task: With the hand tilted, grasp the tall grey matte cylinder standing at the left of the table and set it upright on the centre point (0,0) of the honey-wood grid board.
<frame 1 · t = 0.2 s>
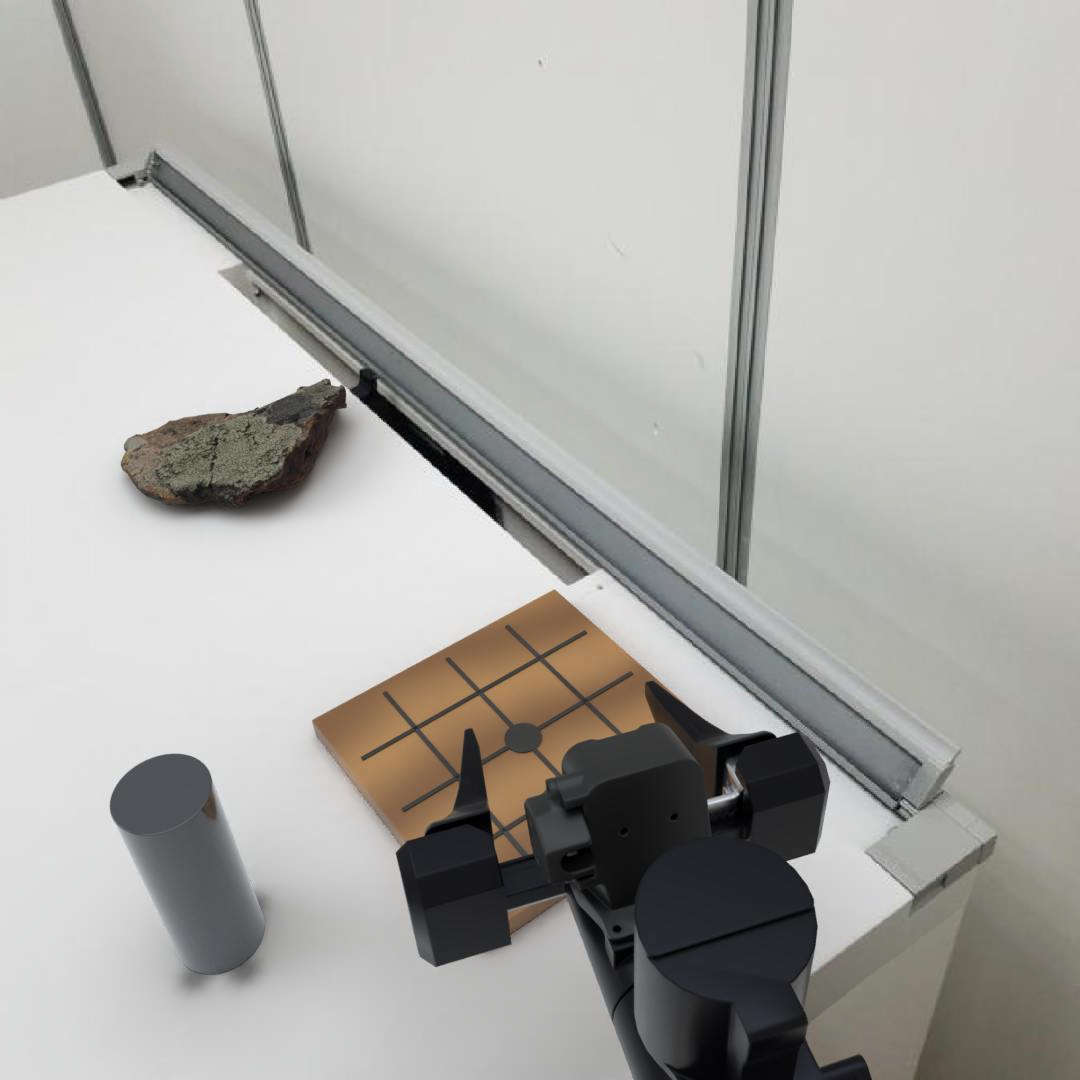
hand: (559, 709, 56), 16 cm above the table, tool horizontal, fingers open, 9 cm apart
board: (524, 753, 74), on the table
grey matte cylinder: (220, 933, 66), on the table
rock: (239, 464, 101), on the table
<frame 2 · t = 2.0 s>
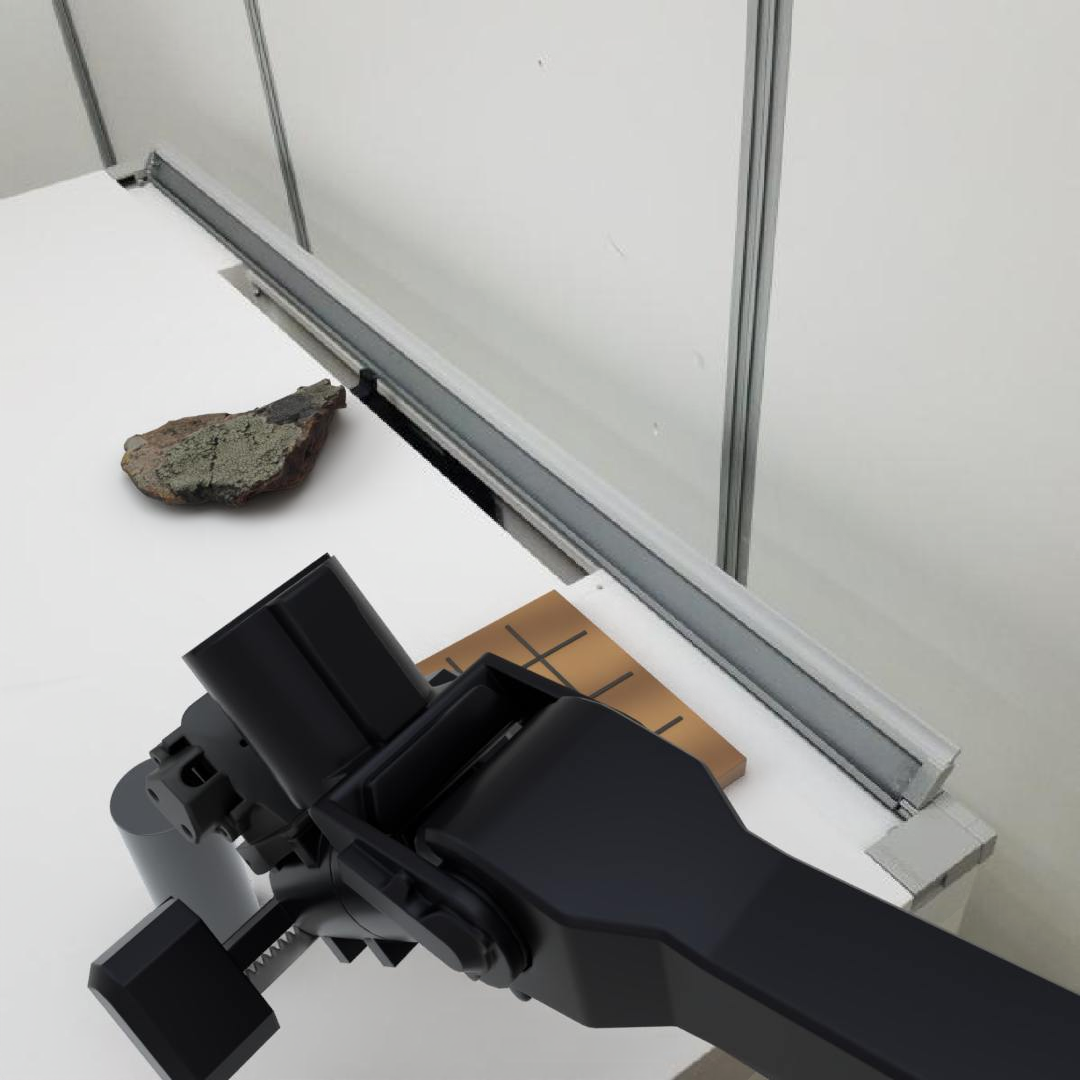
hand: (264, 869, 53), 14 cm above the table, tool tilted 45°, fingers open, 9 cm apart
nothing on the table moved.
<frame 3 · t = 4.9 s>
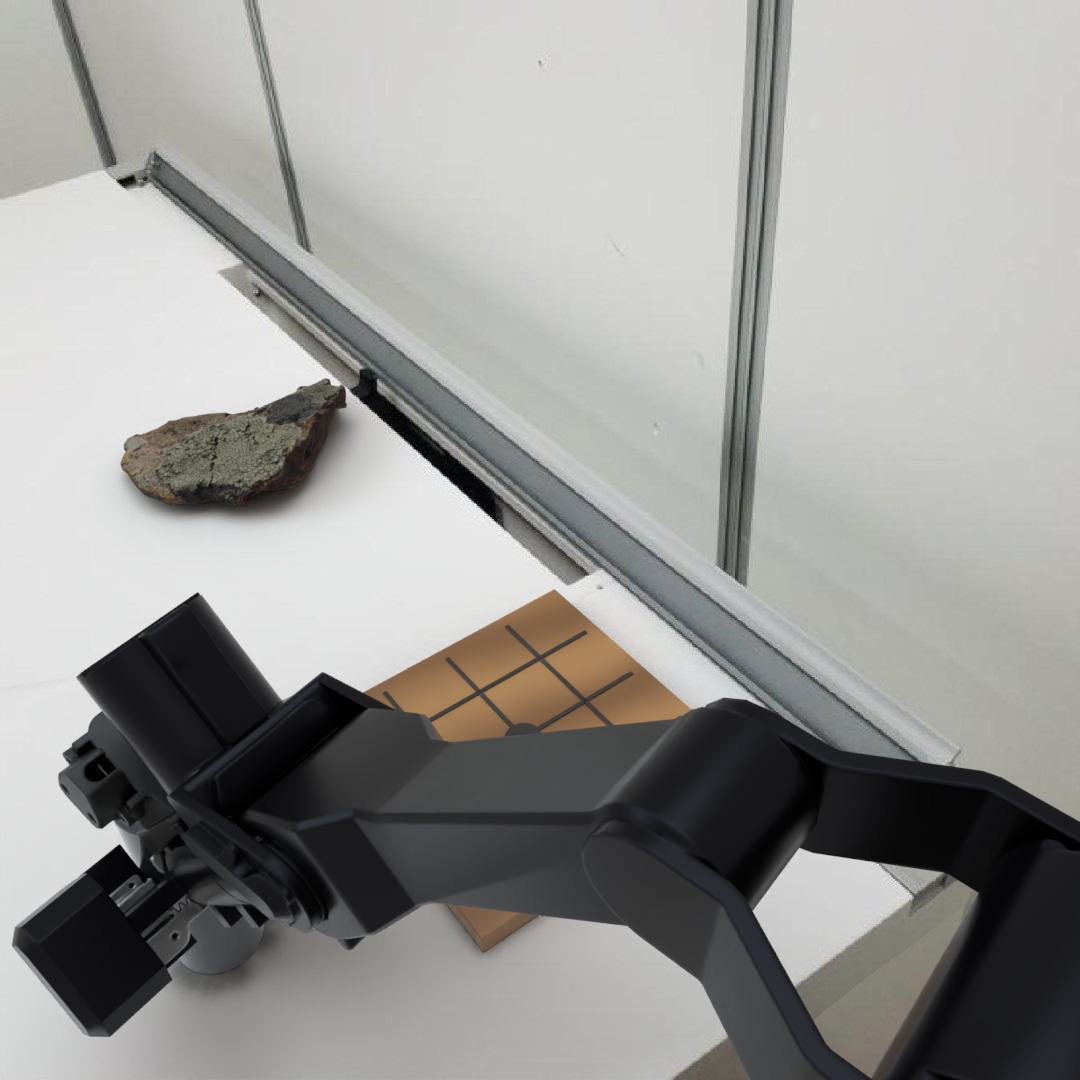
hand: (176, 853, 62), 7 cm above the table, tool tilted 45°, fingers closed on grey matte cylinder, 5 cm apart
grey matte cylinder: (220, 933, 66), on the table, touching gripper
everything else where it was.
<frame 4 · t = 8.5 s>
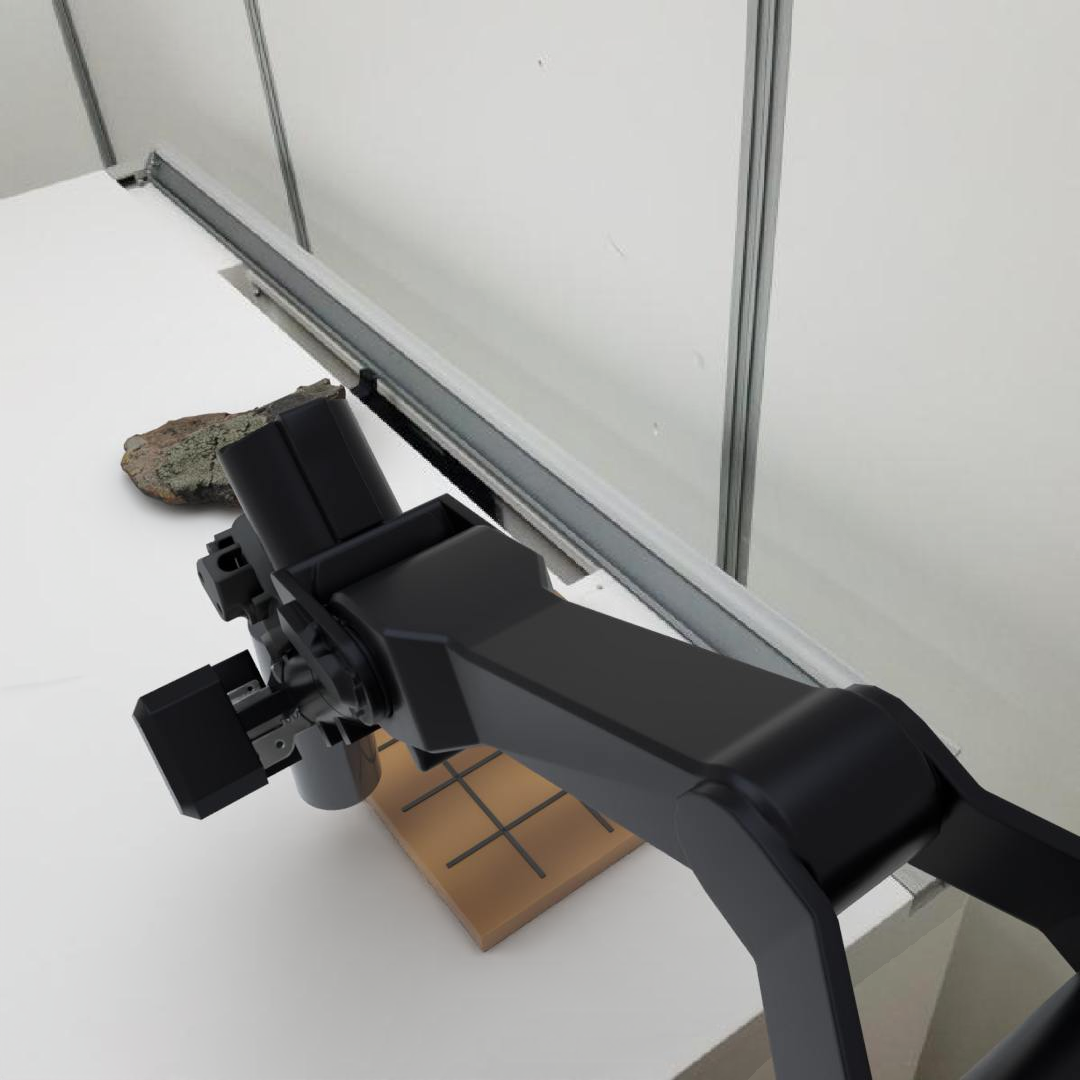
hand: (308, 684, 63), 12 cm above the table, tool tilted 45°, fingers closed on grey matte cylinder, 5 cm apart
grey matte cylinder: (339, 775, 67), point 6 cm above the table, touching gripper
everything else where it was.
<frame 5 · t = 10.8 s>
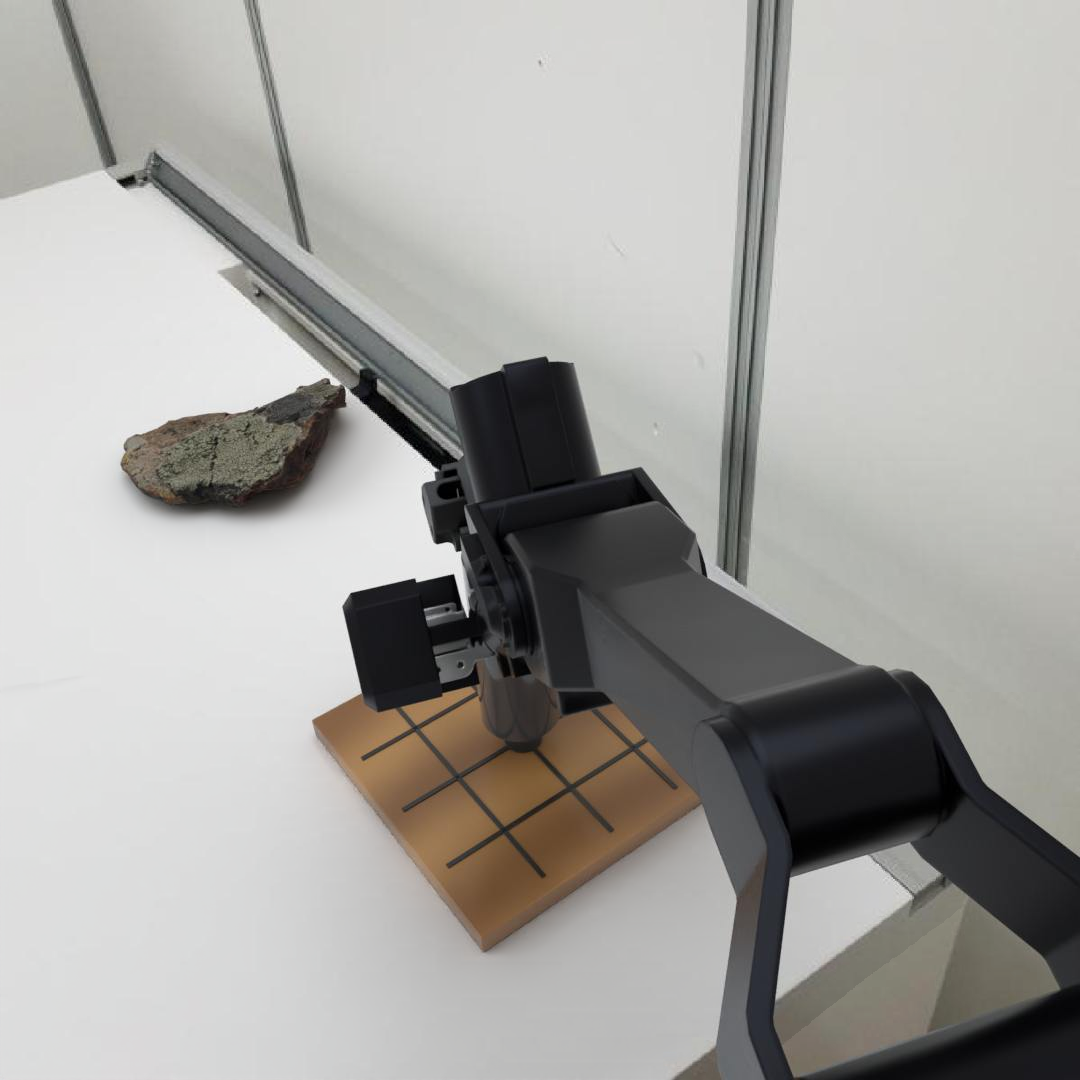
hand: (508, 620, 68), 11 cm above the table, tool tilted 45°, fingers closed on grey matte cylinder, 5 cm apart
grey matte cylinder: (520, 711, 71), point 4 cm above the table, touching gripper
everything else where it was.
when the fingers open (8 cm above the table, at t = 12.2 s): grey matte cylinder stays where it is, resting on board.
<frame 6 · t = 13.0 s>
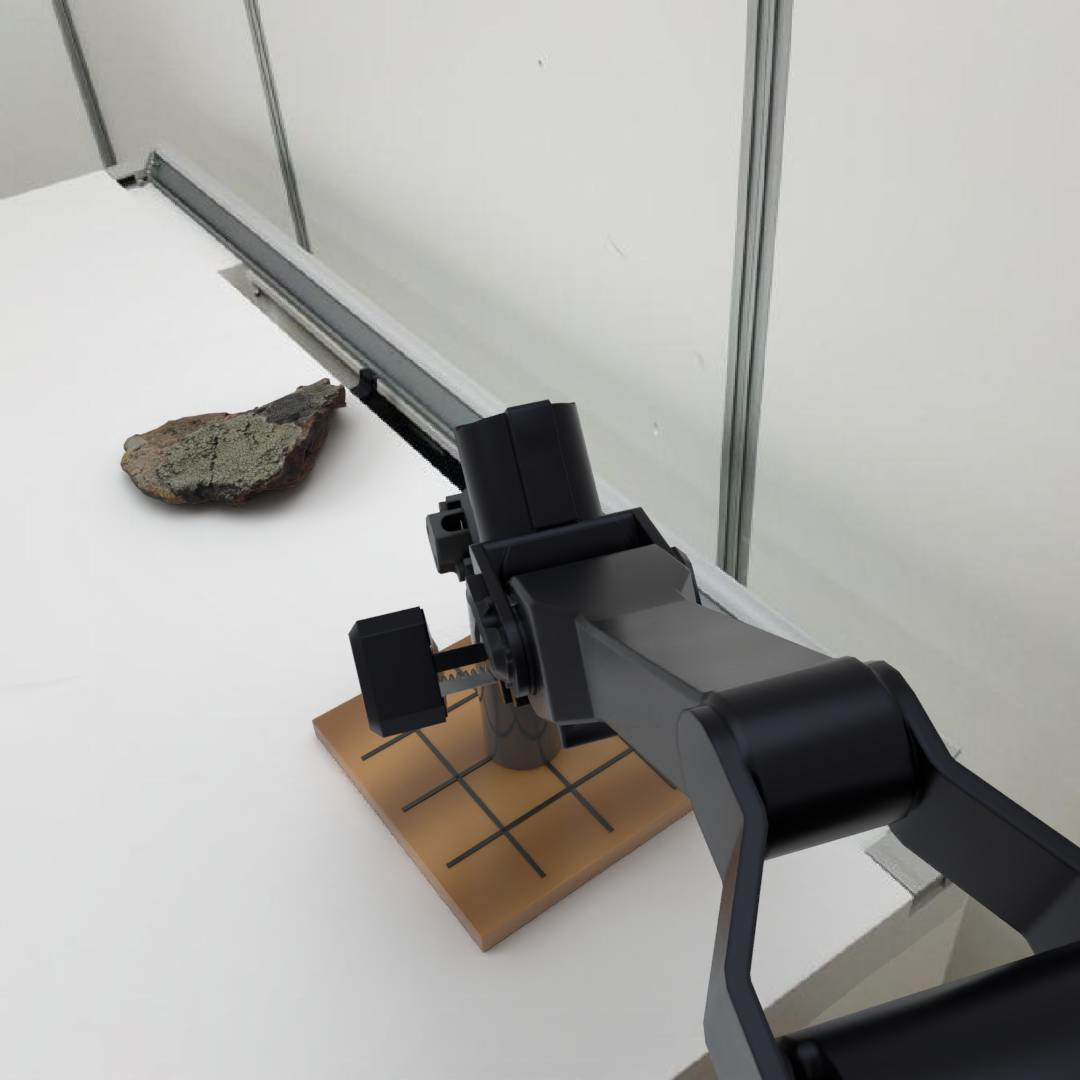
hand: (509, 642, 70), 9 cm above the table, tool tilted 45°, fingers open, 9 cm apart
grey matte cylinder: (523, 738, 73), point 2 cm above the table, touching board
everything else where it was.
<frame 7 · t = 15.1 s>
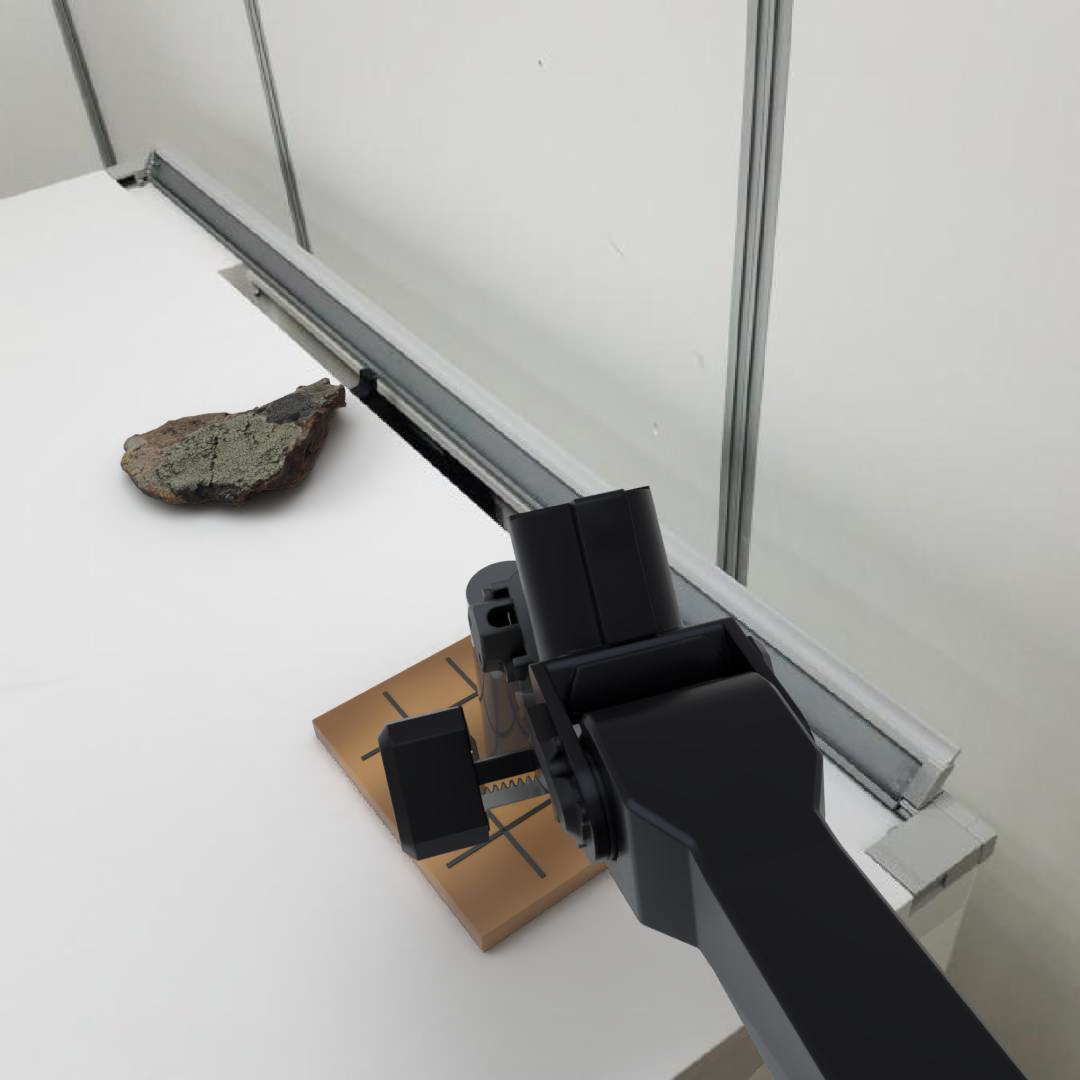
hand: (555, 732, 62), 11 cm above the table, tool tilted 45°, fingers open, 9 cm apart
nothing on the table moved.
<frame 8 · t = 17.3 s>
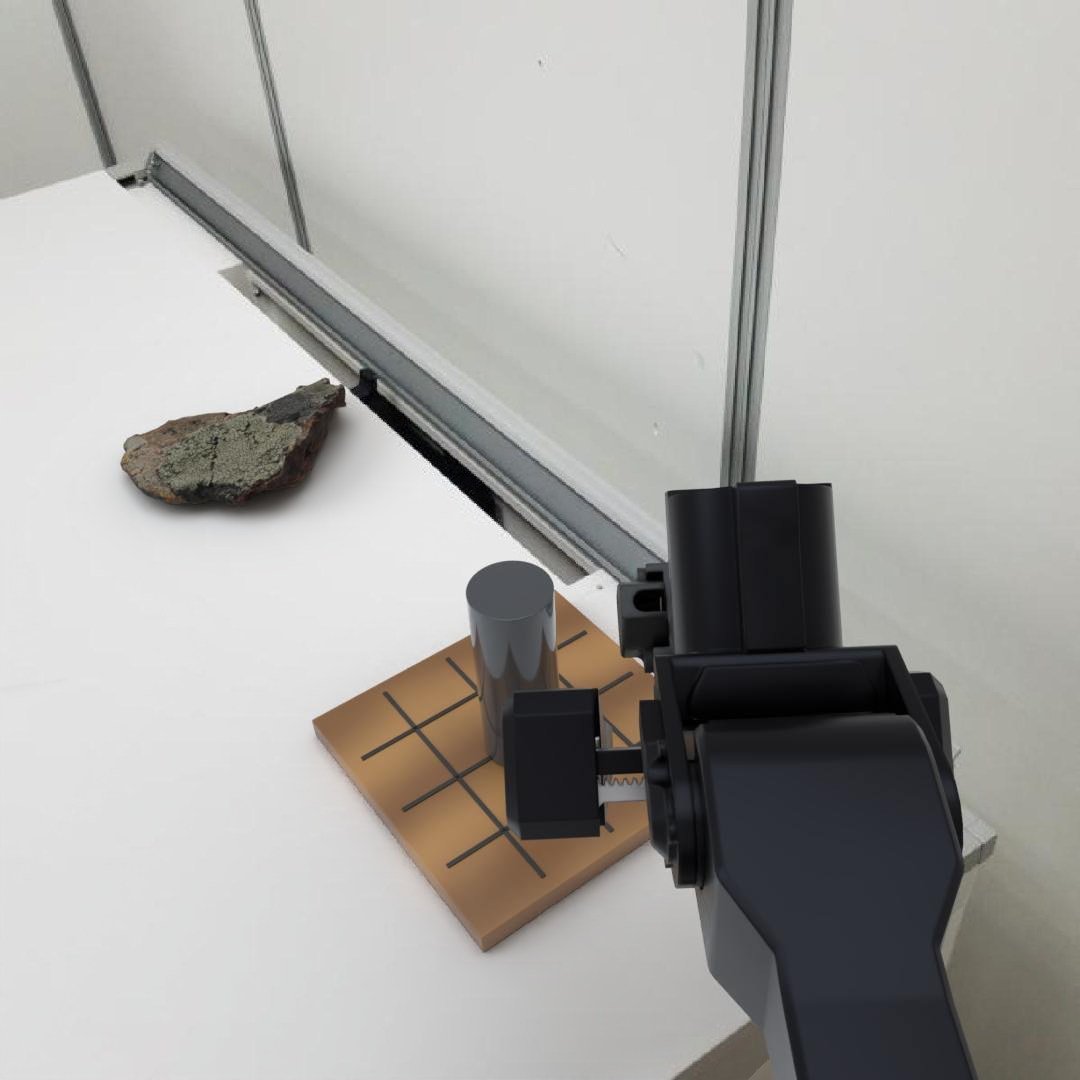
hand: (699, 736, 57), 14 cm above the table, tool tilted 45°, fingers open, 9 cm apart
nothing on the table moved.
at the end: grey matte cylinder 0.1 cm off-centre on the board, point 1.6 cm above the board's base; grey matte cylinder tilted 0°; rock moved 0.2 cm from its start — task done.
